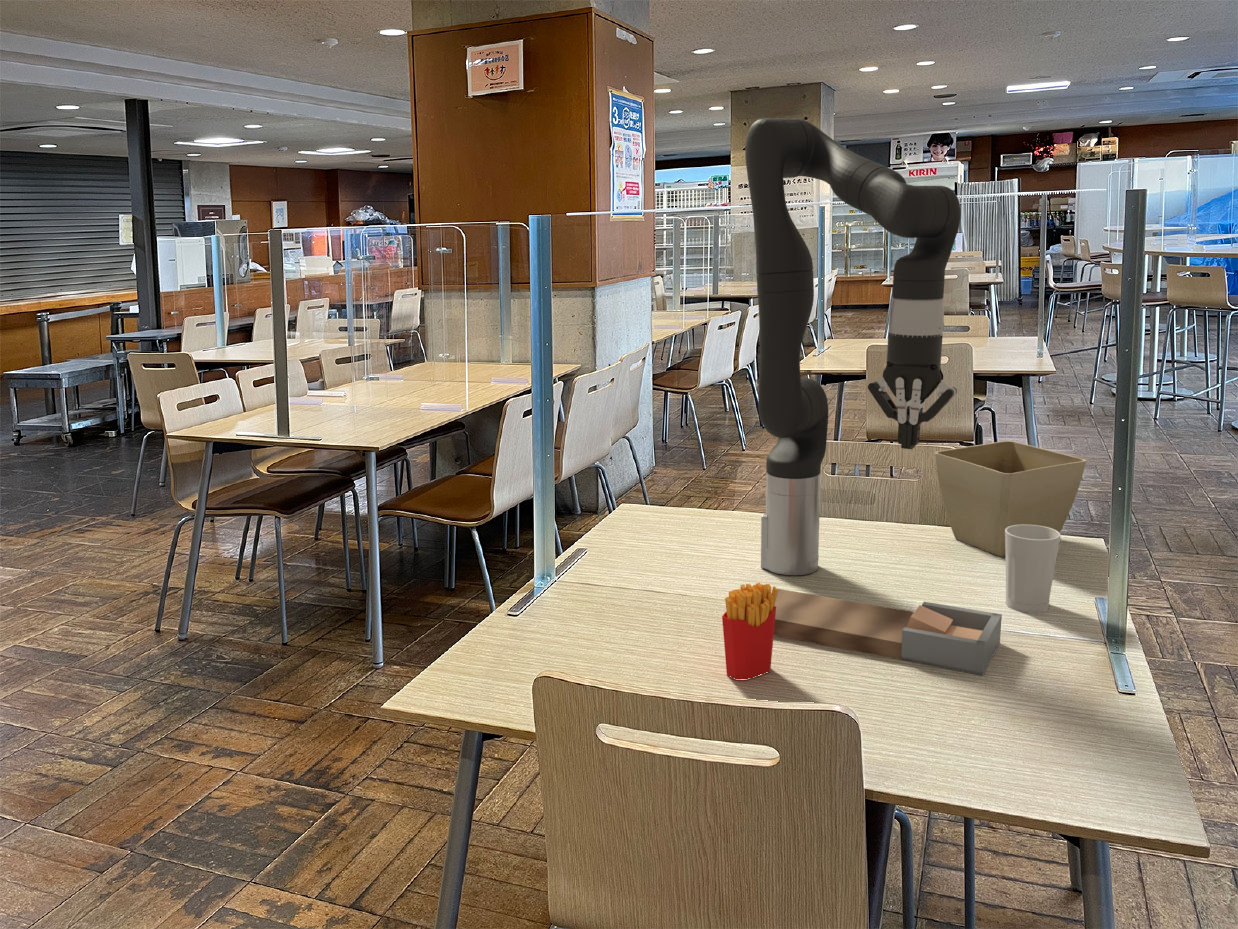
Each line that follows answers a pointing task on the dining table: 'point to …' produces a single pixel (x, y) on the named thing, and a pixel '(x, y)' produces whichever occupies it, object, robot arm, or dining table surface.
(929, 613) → the tile
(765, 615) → the french fries
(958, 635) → the tile
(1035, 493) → the flower pot
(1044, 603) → the cup
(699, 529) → the dining table surface
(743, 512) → the dining table surface
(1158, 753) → the dining table surface
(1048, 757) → the dining table surface
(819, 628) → the board
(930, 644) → the tray
